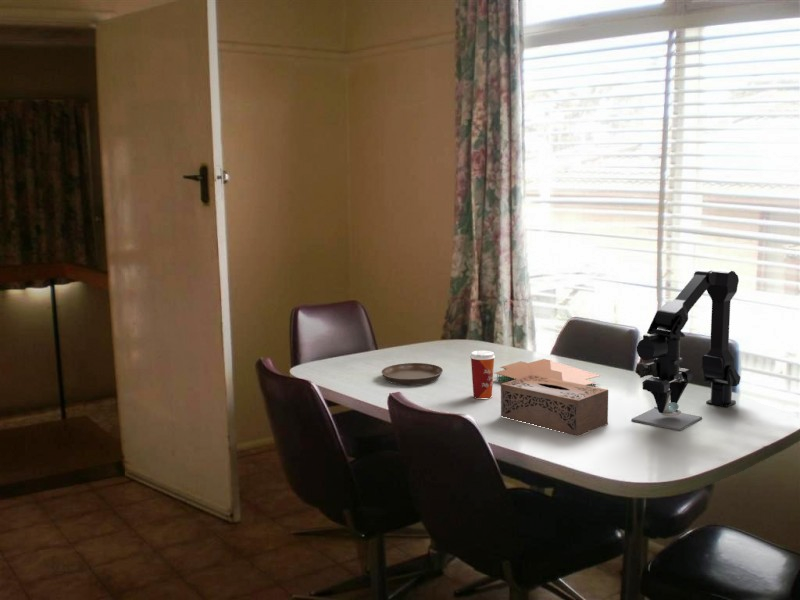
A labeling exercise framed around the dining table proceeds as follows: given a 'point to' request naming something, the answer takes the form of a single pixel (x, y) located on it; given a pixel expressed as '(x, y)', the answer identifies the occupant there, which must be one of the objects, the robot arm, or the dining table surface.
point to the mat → (666, 419)
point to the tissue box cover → (555, 404)
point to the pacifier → (670, 408)
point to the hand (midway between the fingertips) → (667, 409)
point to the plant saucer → (412, 373)
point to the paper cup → (482, 373)
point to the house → (547, 371)
